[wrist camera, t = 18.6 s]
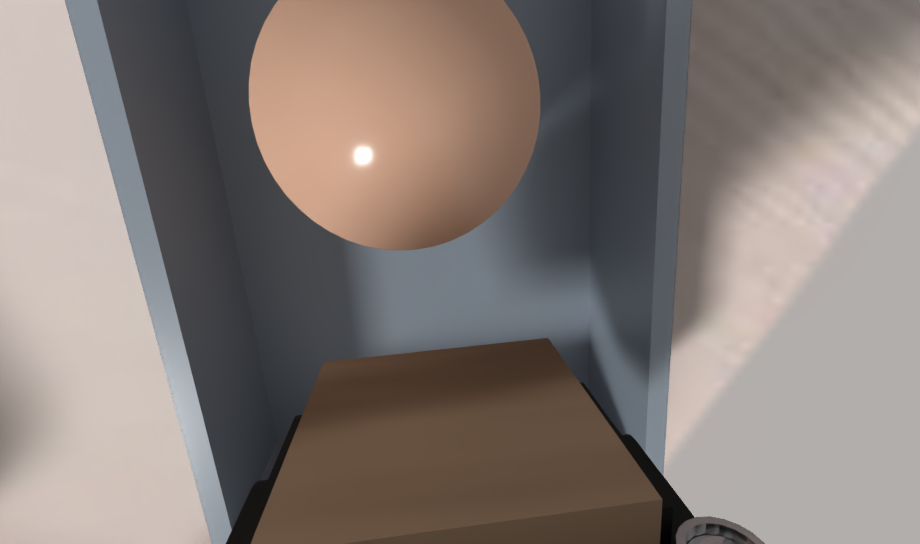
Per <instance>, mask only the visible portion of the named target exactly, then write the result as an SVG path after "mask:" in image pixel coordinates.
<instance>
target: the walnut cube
mask: <svg viewBox="0 0 920 544" xmlns="http://www.w3.org/2000/svg"><path fill="white" fill-rule="evenodd" d="M661 516H662V498H661V497H660V495H659V494H658V492H657V491H656V489H655V488H654V487H653V485H652V484H651V482H650V481H649V480H648V478H647V477H646V475H645V474H644V473H643V471H642V470H641V468H640V467H639V466H638V464H637V463H636V461H635V460H634V458H633V457H632V456H631V454H630V453H629V451H628V450H627V449H626V447H625V446H624V444H623V443H622V442H621V440H620V439H619V437H618V436H617V434H616V433H615V432H614V430H613V429H612V427H611V426H610V425H609V423H608V422H607V420H606V419H605V418H604V416H603V415H602V413H601V412H600V411H599V409H598V408H597V406H596V405H595V403H594V402H593V401H592V399H591V398H590V396H589V395H588V394H587V392H586V391H585V389H584V388H583V387H582V385H581V384H580V382H579V381H578V379H577V378H576V377H575V375H574V374H573V372H572V371H571V370H570V368H569V367H568V365H567V364H566V363H565V361H564V360H563V358H562V357H561V356H560V354H559V353H558V351H557V350H556V348H555V347H554V346H553V344H552V343H551V341H550V340H549V339H548V338H542V339H533V340H523V341H514V342H505V343H495V344H486V345H477V346H468V347H458V348H449V349H440V350H430V351H421V352H412V353H403V354H393V355H384V356H375V357H366V358H356V359H347V360H338V361H328V362H323V365H322V367H321V370H320V372H319V375H318V377H317V380H316V382H315V385H314V387H313V390H312V392H311V395H310V397H309V400H308V402H307V405H306V407H305V410H304V412H303V415H302V417H301V420H300V422H299V425H298V427H297V430H296V432H295V434H294V437H293V439H292V442H291V444H290V447H289V449H288V452H287V454H286V457H285V459H284V462H283V464H282V467H281V469H280V472H279V474H278V477H277V479H276V482H275V484H274V487H273V489H272V492H271V494H270V497H269V499H268V502H267V504H266V507H265V509H264V512H263V514H262V517H261V519H260V522H259V524H258V527H257V529H256V531H255V534H254V536H253V539H252V541H251V544H660V533H661Z"/></svg>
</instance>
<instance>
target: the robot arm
mask: <svg viewBox="0 0 920 544" xmlns="http://www.w3.org/2000/svg"><path fill="white" fill-rule="evenodd" d="M580 384H581V385H582V387H583V388H584V389H585V391H586V392H587V394H588V395H589V396H590V398H591V399H592V401H593V402H594V403H595V405H596V406H597V408H598V409H599V411H600V412H601V413H602V415H603V416H604V418H605V419H606V420H607V422H608V423H609V425H610V426H611V427H612V429H613V430H614V432H615V433H616V434H617V436H618V437H619V439H620V440H621V442H622V443H623V444H624V446H625V447H626V449H627V450H628V451H629V453H630V454H631V456H632V457H633V458H634V460H635V461H636V463H637V464H638V466H639V467H640V468H641V470H642V471H643V473H644V474H645V475H646V477H647V478H648V480H649V481H650V482H651V484H652V485H653V487H654V488H655V489H656V491H657V492H658V494H659V495H660V497H661V498H662V516H661V533H660V544H765V543H764V542H763V541H761V540H760V539H759V538H758V537H757V536H756V535H755V534H753V533H752V532H750V531H749V530H747V529H745V528H744V527H742V526H740V525H738V524H736V523H733V522H730V521H727V520H725V519H720V518H715V517H694V516H693V515H692V513H691V512H690V511H689V510H688V508H687V507H686V506H685V504H684V503H683V501H682V500H681V499H680V498H679V496H678V495H677V494H676V493H675V491H674V490H673V488H672V487H671V486H670V484H669V483H668V482H667V480H666V479H665V478H664V476H663V475H662V474H661V473H660V471H659V470H658V469H657V467H656V466H655V465H654V463H653V462H652V461H651V459H650V458H649V457H648V455H647V454H646V453H645V452H644V450H643V449H642V448H641V446H640V445H639V444H638V442H637V441H636V440H635V439H634V438H633V437H632V436H631V435H629V434H624V435H621V434H620V432H619V431H618V429H617V428H616V427H615V425H614V424H613V423H612V421H611V420H610V418H609V417H608V416H607V414H606V413H605V411H604V410H603V409H602V407H601V406H600V405H599V403H598V402H597V400H596V399H595V398H594V396H593V395H592V394H591V392H590V391H589V389H588V388H587V387H586V385H585V384H584V383H583V382H580ZM301 417H302V415H297V416H295V418H294V420H293V422H292V424H291V427H290V429H289V431H288V434H287V436H286V438H285V441H284V443H283V445H282V448H281V450H280V452H279V455H278V457H277V459H276V462H275V464H274V467H273V469H272V471H271V474H270V476H269V478H268V480H261V481H257V482H256V483H254V485H253V487H252V488H251V490H250V492H249V494H248V497H247V499H246V501H245V503H244V505H243V507H242V510H241V512H240V514H239V516H238V518H237V520H236V522H235V525H234V527H233V529H232V531H231V533H230V535H229V538H228V540H227V542H226V544H251V541H252V539H253V536H254V534H255V531H256V529H257V527H258V524H259V522H260V519H261V517H262V514H263V512H264V509H265V507H266V504H267V502H268V499H269V497H270V494H271V492H272V489H273V487H274V484H275V482H276V479H277V477H278V474H279V472H280V469H281V467H282V464H283V462H284V459H285V457H286V454H287V452H288V449H289V447H290V444H291V442H292V439H293V437H294V434H295V432H296V430H297V427H298V425H299V422H300V420H301Z"/></svg>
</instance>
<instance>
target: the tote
mask: <svg viewBox="0 0 920 544" xmlns="http://www.w3.org/2000/svg"><path fill="white" fill-rule="evenodd" d="M277 1H278V0H65V3H66V7H67V10H68V14H69V18H70V22H71V25H72V29H73V33H74V36H75V40H76V44H77V47H78V51H79V55H80V58H81V62H82V66H83V69H84V73H85V77H86V81H87V84H88V88H89V92H90V95H91V99H92V103H93V106H94V110H95V114H96V117H97V121H98V125H99V128H100V132H101V136H102V139H103V143H104V147H105V151H106V154H107V158H108V162H109V165H110V169H111V173H112V176H113V180H114V184H115V187H116V191H117V195H118V198H119V202H120V206H121V210H122V213H123V217H124V221H125V224H126V228H127V232H128V235H129V239H130V243H131V246H132V250H133V254H134V257H135V261H136V265H137V269H138V272H139V276H140V280H141V283H142V287H143V291H144V294H145V298H146V302H147V305H148V309H149V313H150V316H151V320H152V324H153V327H154V331H155V335H156V339H157V342H158V346H159V350H160V353H161V357H162V361H163V364H164V368H165V372H166V375H167V379H168V383H169V386H170V390H171V394H172V398H173V401H174V405H175V409H176V412H177V416H178V420H179V423H180V427H181V431H182V434H183V438H184V442H185V445H186V449H187V453H188V456H189V460H190V464H191V468H192V471H193V475H194V479H195V482H196V486H197V490H198V493H199V497H200V501H201V504H202V508H203V512H204V515H205V519H206V523H207V527H208V530H209V534H210V538H211V541H212V544H226V542H227V540H228V538H229V535H230V533H231V531H232V529H233V527H234V525H235V522H236V520H237V518H238V516H239V514H240V512H241V510H242V507H243V505H244V503H245V501H246V499H247V497H248V494H249V492H250V490H251V488H252V487H253V485H254V483H256V482H257V481H261V480H268V478H269V476H270V474H271V471H272V469H273V467H274V464H275V462H276V459H277V457H278V455H279V452H280V450H281V448H282V445H283V443H284V441H285V438H286V436H287V434H288V431H289V429H290V427H291V424H292V422H293V420H294V418H295V416H297V415H303V412H304V410H305V407H306V405H307V402H308V400H309V397H310V395H311V392H312V390H313V387H314V385H315V382H316V380H317V377H318V375H319V372H320V370H321V367H322V365H323V362H328V361H338V360H347V359H356V358H366V357H375V356H384V355H393V354H403V353H412V352H421V351H430V350H440V349H449V348H458V347H468V346H477V345H486V344H495V343H505V342H514V341H523V340H533V339H542V338H548V339H549V340H550V341H551V343H552V344H553V346H554V347H555V348H556V350H557V351H558V353H559V354H560V356H561V357H562V358H563V360H564V361H565V363H566V364H567V365H568V367H569V368H570V370H571V371H572V372H573V374H574V375H575V377H576V378H577V379H578V381H579V382H583V383H584V384H585V385H586V387H587V388H588V389H589V391H590V392H591V394H592V395H593V396H594V398H595V399H596V400H597V402H598V403H599V405H600V406H601V407H602V409H603V410H604V411H605V413H606V414H607V416H608V417H609V418H610V420H611V421H612V423H613V424H614V425H615V427H616V428H617V429H618V431H619V432H620V434H621V435H624V434H629V435H631V436H632V437H633V438H634V439H635V440H636V441H637V442H638V444H639V445H640V446H641V448H642V449H643V450H644V452H645V453H646V454H647V455H648V457H649V458H650V459H651V461H652V462H653V463H654V465H655V466H656V467H657V469H658V470H659V471H660V473H661V474H662V475H663V471H664V455H665V438H666V422H667V405H668V389H669V373H670V356H671V340H672V323H673V307H674V290H675V274H676V257H677V241H678V225H679V208H680V192H681V175H682V159H683V142H684V126H685V109H686V93H687V77H688V60H689V44H690V27H691V11H692V0H504V2H505V3H506V4H507V6H508V7H509V9H510V10H511V11H512V13H513V14H514V16H515V17H516V19H517V20H518V22H519V24H520V26H521V28H522V30H523V32H524V34H525V36H526V38H527V40H528V43H529V46H530V48H531V51H532V54H533V57H534V61H535V65H536V69H537V73H538V80H539V88H540V120H539V127H538V134H537V138H536V142H535V146H534V150H533V153H532V156H531V158H530V161H529V163H528V166H527V168H526V170H525V172H524V174H523V176H522V178H521V180H520V182H519V183H518V185H517V187H516V188H515V189H514V191H513V192H512V194H511V195H510V196H509V198H508V199H507V200H506V201H505V203H504V204H503V205H502V206H501V207H500V208H499V209H498V210H497V211H496V212H495V213H494V214H493V215H492V216H491V217H489V218H488V219H487V220H486V221H485V222H483V223H482V224H481V225H479V226H478V227H476V228H475V229H473V230H471V231H470V232H468V233H467V234H465V235H463V236H460V237H458V238H456V239H454V240H452V241H449V242H446V243H443V244H440V245H437V246H434V247H428V248H423V249H417V250H385V249H378V248H373V247H368V246H363V245H360V244H357V243H355V242H352V241H349V240H346V239H344V238H342V237H340V236H338V235H336V234H334V233H331V232H329V231H328V230H326V229H325V228H323V227H322V226H320V225H319V224H317V223H316V222H314V221H313V220H312V219H310V218H309V217H308V216H307V215H306V214H304V213H303V212H302V211H301V210H300V209H299V208H298V207H297V206H296V205H295V204H294V203H293V202H292V201H291V200H290V199H289V198H288V197H287V196H286V194H285V193H284V192H283V190H282V189H281V187H280V186H279V185H278V183H277V182H276V181H275V179H274V177H273V176H272V174H271V172H270V170H269V168H268V167H267V165H266V163H265V161H264V159H263V156H262V154H261V151H260V149H259V146H258V144H257V141H256V137H255V133H254V130H253V126H252V121H251V114H250V107H249V76H250V68H251V61H252V57H253V53H254V49H255V45H256V42H257V39H258V37H259V34H260V32H261V29H262V27H263V24H264V22H265V20H266V19H267V17H268V15H269V14H270V12H271V10H272V8H273V7H274V5H275V4H276V2H277Z"/></svg>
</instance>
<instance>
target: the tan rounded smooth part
mask: <svg viewBox="0 0 920 544" xmlns="http://www.w3.org/2000/svg"><path fill="white" fill-rule="evenodd" d="M249 107H250V114H251V121H252V126H253V130H254V133H255V137H256V141H257V144H258V146H259V149H260V151H261V154H262V156H263V159H264V161H265V163H266V165H267V167H268V168H269V170H270V172H271V174H272V176H273V177H274V179H275V181H276V182H277V183H278V185H279V186H280V187H281V189H282V190H283V192H284V193H285V194H286V196H287V197H288V198H289V199H290V200H291V201H292V202H293V203H294V204H295V205H296V206H297V207H298V208H299V209H300V210H301V211H302V212H303V213H304V214H306V215H307V216H308V217H309V218H310V219H312V220H313V221H314V222H316V223H317V224H319V225H320V226H322V227H323V228H325V229H326V230H328V231H329V232H331V233H334V234H336V235H338V236H340V237H342V238H344V239H346V240H349V241H352V242H355V243H357V244H360V245H363V246H368V247H373V248H378V249H385V250H417V249H423V248H428V247H434V246H437V245H440V244H443V243H446V242H449V241H452V240H454V239H456V238H458V237H460V236H463V235H465V234H467V233H468V232H470V231H471V230H473V229H475V228H476V227H478V226H479V225H481V224H482V223H483V222H485V221H486V220H487V219H488V218H489V217H491V216H492V215H493V214H494V213H495V212H496V211H497V210H498V209H499V208H500V207H501V206H502V205H503V204H504V203H505V201H506V200H507V199H508V198H509V196H510V195H511V194H512V192H513V191H514V189H515V188H516V187H517V185H518V183H519V182H520V180H521V178H522V176H523V174H524V172H525V170H526V168H527V166H528V163H529V161H530V158H531V156H532V153H533V150H534V146H535V142H536V138H537V134H538V127H539V120H540V88H539V80H538V73H537V69H536V65H535V61H534V57H533V54H532V51H531V48H530V46H529V43H528V40H527V38H526V36H525V34H524V32H523V30H522V28H521V26H520V24H519V22H518V20H517V19H516V17H515V16H514V14H513V13H512V11H511V10H510V9H509V7H508V6H507V4H506V3H505V2H504V0H278V1H277V2H276V4H275V5H274V7H273V8H272V10H271V12H270V14H269V15H268V17H267V19H266V20H265V22H264V24H263V27H262V29H261V32H260V34H259V37H258V39H257V42H256V45H255V49H254V53H253V57H252V61H251V68H250V76H249Z"/></svg>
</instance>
